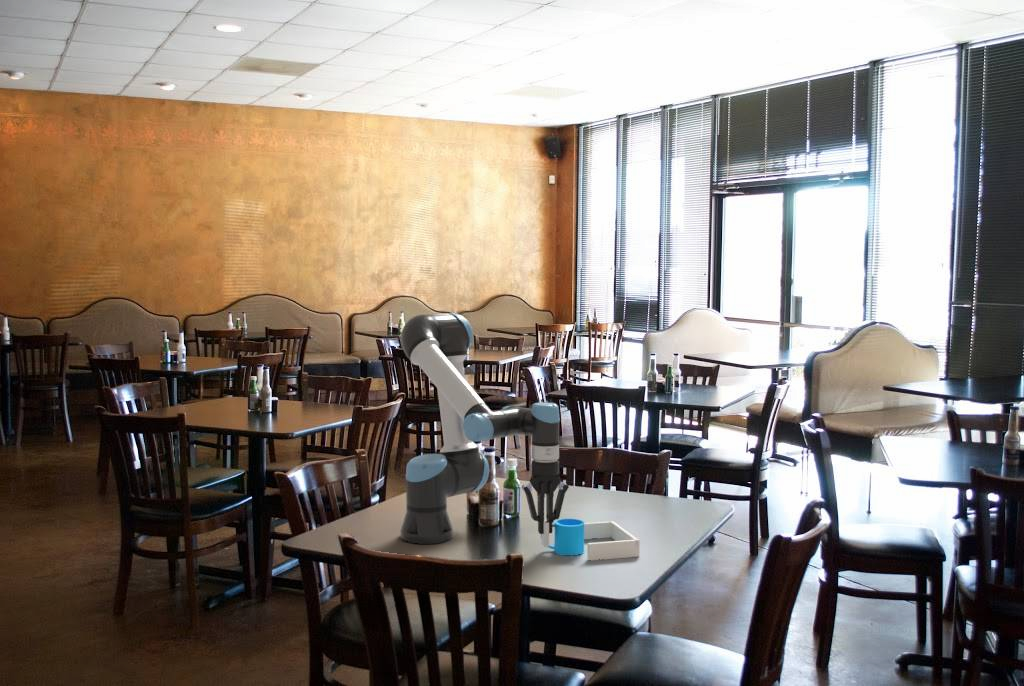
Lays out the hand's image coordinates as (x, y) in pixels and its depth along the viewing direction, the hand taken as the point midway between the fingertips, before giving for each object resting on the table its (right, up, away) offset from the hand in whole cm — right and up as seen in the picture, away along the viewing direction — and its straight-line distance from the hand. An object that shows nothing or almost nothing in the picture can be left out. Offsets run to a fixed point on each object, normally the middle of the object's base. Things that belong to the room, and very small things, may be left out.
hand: (545, 545), depth 262 cm
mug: (+5, -2, +2) cm, 6 cm away
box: (+16, -2, +5) cm, 16 cm away
